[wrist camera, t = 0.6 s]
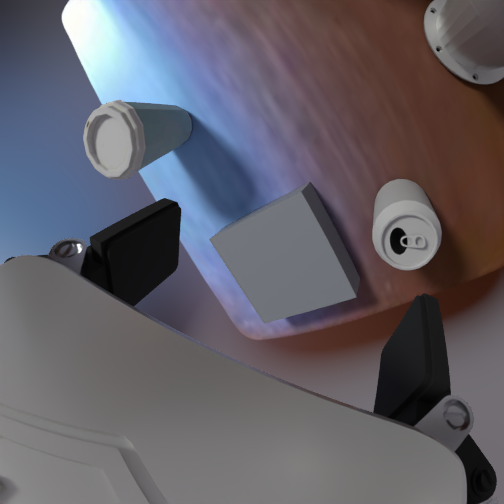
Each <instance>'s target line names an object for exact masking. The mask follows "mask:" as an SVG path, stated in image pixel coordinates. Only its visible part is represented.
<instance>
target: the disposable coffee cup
mask: <svg viewBox="0 0 504 504" xmlns="http://www.w3.org/2000/svg"><path fill="white" fill-rule="evenodd" d="M191 131H192V120H191V118H190V116H189V115H188V113H187V111H185V110H183V109H181V108H180V107H178V106H174V105H163V104H151V103H136V102H123V101H121V100H116V101H113V102H109V103H106V104H104V105H101V106H100V107H99V109H96V110H94V111H93V113H92V114H91V116H90V117H89V118H88V120H87V123H86V125H85V131H84V136H83V139H84V145H85V149H86V154H87V156H88V158H89V159H90V161H91V162H92V164H93V166H94V168H95V169H96V170H98V171H99V172H100V173H102V174H103V175H105V176H106V177H109V178H110V179H126V178H130V177H131V176H132V175H133V174H134V173H135V172H137V171H138V170H140V169H142V168H143V167H145V166H147V165H148V164H150V163H152V162H153V161H155V160H157V159H158V158H160V157H162V156H164V155H165V154H167V153H169V152H170V151H172V150H174V149H176V148H178V147H179V146H181V145H182V144H183V143H185V142H186V141H187V139H189V136H190V134H191Z"/></svg>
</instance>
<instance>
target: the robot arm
mask: <svg viewBox="0 0 504 504" xmlns="http://www.w3.org/2000/svg"><path fill="white" fill-rule="evenodd" d="M431 11H433V12H434V13H432V12H431ZM423 23H424V32H425V37H426V39H427V42H428V44H429V46H430V48H431V50H432V52H433V53H434V55H435V56H436V57H437V59H438V60H439V61H440V62H441V63H442V64H443V65H444V66H445V67H446V68H447V69H448V70H449V71H450V72H452V73H453V74H454V75H456V76H458V77H459V78H461V79H463V80H465V81H468V82H471V83H475V84H492V83H495V82H498V81H500V80H501V79H502V78H504V0H433V1H432V2H431V3H430V4H429V6H428V8H427V9H426V12H425V15H424V21H423ZM436 49H439V52H438V51H437V50H436ZM472 76H474V77H475V79H473V77H472ZM180 222H181V208H180V207H179V205H178V203H177V202H175V201H172V200H169V199H166V198H163V199H161V200H159V201H157V202H155V203H153V204H151V205H149V206H147V207H145V208H143V209H141V210H139V211H138V212H135V213H134V214H131V215H130V216H128V217H126V218H124V219H122V220H120V221H118V222H117V223H115V224H113V225H111V226H109V227H107V228H105V229H104V230H102V231H100V232H98V233H96V234H95V235H93V236H91V237H90V243H91V245H90V246H88V247H87V244H86V243H85V241H83V240H81V239H78V238H68V239H64V240H61V241H59V242H57V243H56V244H55V245H53V247H52V248H51V250H50V252H49V255H39V256H32V255H24V256H23V255H22V256H18V257H11V258H9V259H7V260H6V262H4V263H3V264H1V265H0V504H498V500H497V497H495V498H492V495H493V493H494V491H495V488H496V482H497V480H496V474H495V471H494V469H493V467H492V466H491V464H490V463H489V462H488V460H487V459H486V457H485V456H484V454H483V453H482V452H481V450H480V449H479V447H478V446H477V445H476V443H475V442H474V440H473V439H472V438H471V436H470V435H469V432H470V431H471V429H472V427H473V423H474V417H473V412H472V410H471V408H470V406H469V405H468V403H467V402H466V401H465V400H463V399H462V398H460V397H458V396H455V395H451V390H450V376H449V366H448V357H447V350H446V343H445V336H444V330H443V324H442V318H441V313H440V308H439V303H438V299H437V298H434V297H432V296H430V295H427V294H425V293H424V294H422V295H421V296H419V295H418V296H416V297H415V299H414V301H413V302H412V304H411V306H410V307H409V309H408V311H407V312H406V314H405V316H404V317H403V319H402V321H401V322H400V324H399V325H398V327H397V328H396V330H395V332H394V333H393V335H392V336H391V337H390V339H389V340H388V342H387V343H386V345H385V347H384V349H383V351H382V354H381V361H380V370H379V378H378V386H377V393H376V399H375V405H374V412H373V413H372V412H369V411H366V410H363V409H360V408H357V407H354V406H351V405H348V404H346V403H343V402H340V401H337V400H334V399H332V398H329V397H326V396H323V395H320V394H318V393H315V392H312V391H310V390H307V389H305V388H302V387H300V386H297V385H294V384H292V383H289V382H287V381H284V380H282V379H279V378H277V377H275V376H272V375H270V374H268V373H265V372H263V371H261V370H258V369H256V368H254V367H252V366H249V365H247V364H245V363H243V362H240V361H238V360H236V359H234V358H232V357H229V356H227V355H225V354H223V353H221V352H219V351H216V350H215V349H213V348H210V347H209V346H206V345H204V344H202V343H200V342H198V341H196V340H194V339H192V338H190V337H188V336H187V335H185V334H183V333H181V332H179V331H177V330H175V329H173V328H171V327H169V326H168V325H166V324H164V323H162V322H160V321H158V320H156V319H155V318H153V317H151V316H149V315H147V314H146V313H144V312H142V311H140V310H138V309H137V308H135V307H134V306H135V305H136V304H137V303H138V302H139V301H141V299H143V298H144V297H145V296H146V295H148V294H149V293H150V292H151V291H152V290H153V289H154V288H156V287H157V286H158V285H159V284H160V283H162V282H163V281H164V280H165V279H166V278H167V277H169V276H170V275H171V274H172V273H173V272H174V271H175V270H176V269H177V266H178V256H179V238H180Z"/></svg>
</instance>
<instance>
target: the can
mask: <svg viewBox="0 0 504 504" xmlns="http://www.w3.org/2000/svg"><path fill="white" fill-rule="evenodd" d="M441 235H442V231H441V226H440V222H439V220H438V218H437V215H436V213H435V211H434V209H433V207H432V205H431V203H430V201H429V199H428V197H427V195H426V194H425V192H424V191H423V189H422V188H421V187H420V186H419V185H417V184H416V183H415V182H412V181H410V180H407V179H397V180H393V181H390V182H388V183H387V184H385V185H384V186H383V187H382V188H381V189H380V191H379V192H378V194H377V197H376V200H375V207H374V220H373V243H374V246H375V250H376V251H377V252H378V254H379V255H380V257H381V258H382V259H383V260H384V261H386V262H387V263H388V264H390V265H391V266H392V267H395V268H398V269H400V270H414V269H418V268H420V267H422V266H424V265H426V264H427V263H428V262H429V261H430V260H431V259H432V258H433V256H434V255H435V254H436V252H437V250H438V248H439V246H440V243H441Z"/></svg>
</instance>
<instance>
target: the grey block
mask: <svg viewBox="0 0 504 504" xmlns="http://www.w3.org/2000/svg"><path fill="white" fill-rule="evenodd" d="M209 240H210V241H211V243H212V244H213V246H214V247H215V249H216V251H217V252H218V254H219V255H220V257H221V258H222V260H223V261H224V263H225V265H226V266H227V268H228V269H229V271H230V272H231V274H232V275H233V277H234V278H235V280H236V281H237V283H238V285H239V286H240V288H241V289H242V291H243V292H244V294H245V295H246V297H247V298H248V300H249V301H250V303H251V304H252V306H253V307H254V309H255V310H256V312H257V313H258V315H259V316H260V318H261V319H262V321H263V322H264V323H267V322H271V321H275V320H279V319H283V318H286V317H290V316H294V315H298V314H301V313H305V312H308V311H312V310H316V309H319V308H323V307H326V306H329V305H333V304H336V303H340V302H343V301H346V300H349V299H353V298H356V297H357V293H358V287H359V282H360V277H359V275H358V272H357V270H356V268H355V266H354V264H353V262H352V260H351V258H350V256H349V254H348V252H347V250H346V248H345V246H344V244H343V242H342V240H341V238H340V236H339V234H338V232H337V230H336V228H335V226H334V225H333V223H332V221H331V219H330V217H329V215H328V213H327V211H326V210H325V208H324V206H323V204H322V202H321V200H320V199H319V197H318V195H317V193H316V191H315V190H314V188H313V186H312V184H311V183H310V182H309V183H307V184H305V185H303V186H301V187H299V188H298V189H296V190H294V191H292V192H290V193H288V194H286V195H284V196H282V197H280V198H278V199H276V200H274V201H272V202H270V203H269V204H267V205H265V206H263V207H261V208H259V209H257V210H255V211H253V212H252V213H250V214H248V215H246V216H244V217H242V218H240V219H238V220H237V221H235V222H233V223H231V224H229V225H227V226H225V227H224V228H223V229H222V230H220V231H219V232H218V233H217V234H215V235H214V236H213V237H212V238H210V239H209Z"/></svg>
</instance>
